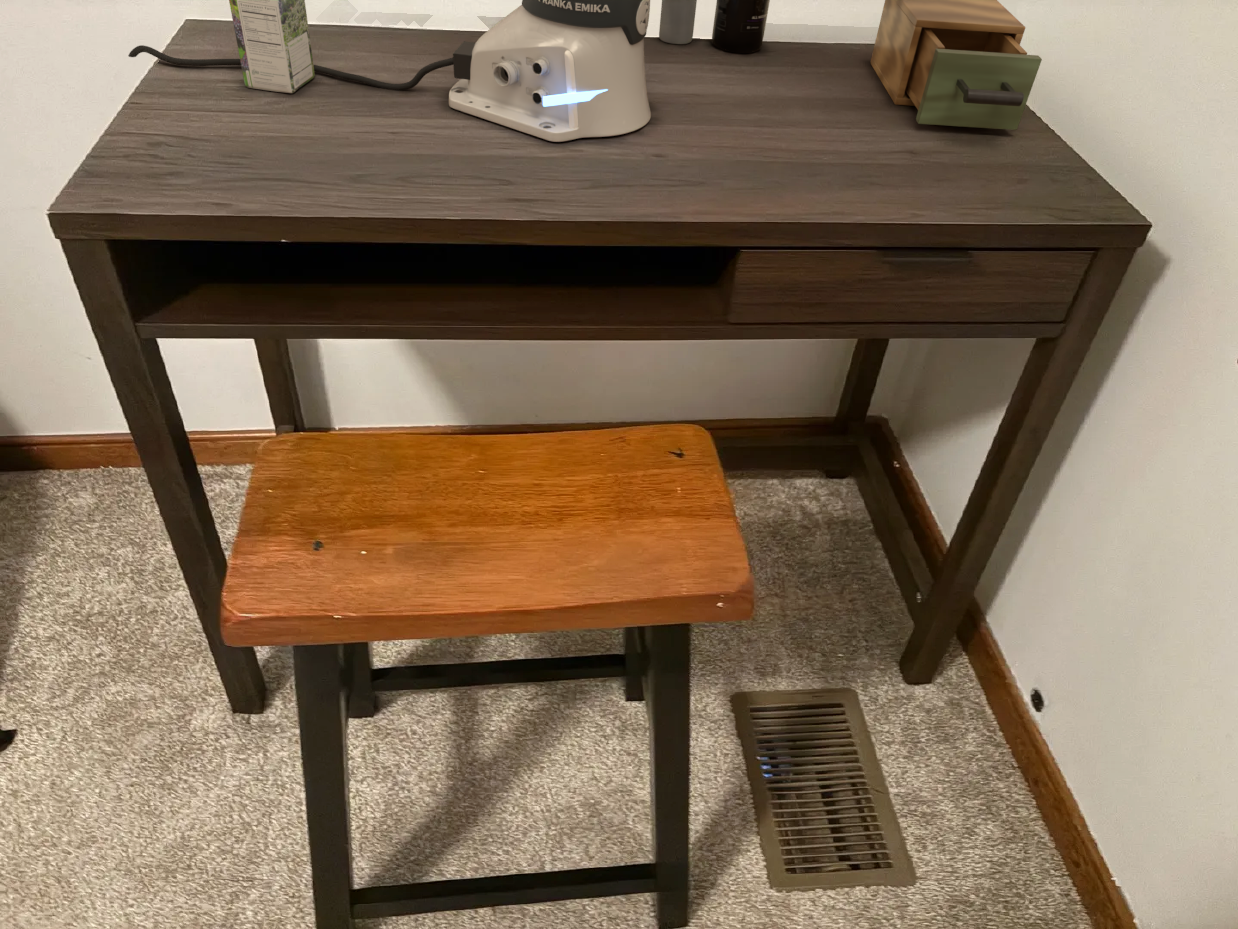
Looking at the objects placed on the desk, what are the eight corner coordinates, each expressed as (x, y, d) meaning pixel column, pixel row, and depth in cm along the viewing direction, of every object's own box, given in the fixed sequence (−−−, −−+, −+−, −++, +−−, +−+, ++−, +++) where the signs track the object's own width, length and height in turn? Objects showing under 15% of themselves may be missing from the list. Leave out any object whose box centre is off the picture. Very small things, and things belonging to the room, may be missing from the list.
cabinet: (997, 111, 111) (1025, 26, 105) (894, 104, 111) (917, 19, 104) (963, 69, 122) (987, -10, 116) (870, 63, 122) (888, -17, 115)
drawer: (1031, 147, 101) (1058, 74, 96) (929, 141, 100) (950, 67, 95) (981, 87, 115) (1003, 20, 110) (891, 81, 114) (908, 13, 109)
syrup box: (269, 71, 106) (243, -72, 96) (318, 77, 105) (296, -66, 96) (244, 88, 102) (214, -60, 92) (294, 95, 101) (269, -53, 91)
